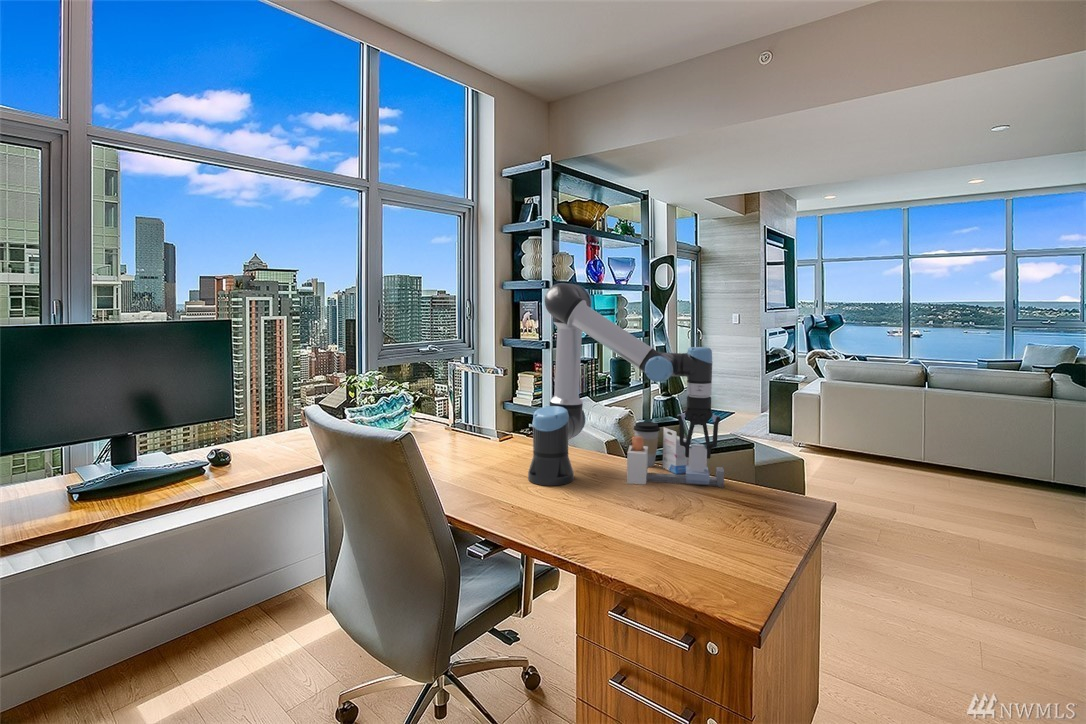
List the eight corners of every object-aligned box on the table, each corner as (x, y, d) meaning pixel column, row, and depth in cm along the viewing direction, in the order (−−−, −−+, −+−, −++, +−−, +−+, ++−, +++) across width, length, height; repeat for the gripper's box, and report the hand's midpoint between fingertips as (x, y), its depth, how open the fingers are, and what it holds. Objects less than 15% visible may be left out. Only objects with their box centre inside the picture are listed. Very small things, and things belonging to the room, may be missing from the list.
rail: (646, 482, 175) (646, 467, 175) (647, 477, 180) (647, 462, 180) (723, 487, 170) (724, 471, 169) (722, 482, 175) (722, 467, 174)
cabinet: (627, 483, 174) (627, 452, 174) (629, 474, 184) (629, 445, 183) (645, 484, 173) (646, 453, 172) (647, 475, 183) (647, 446, 182)
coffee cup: (658, 461, 200) (658, 421, 198) (661, 468, 190) (661, 426, 189) (632, 460, 201) (632, 421, 199) (633, 468, 191) (634, 426, 190)
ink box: (688, 473, 185) (688, 430, 184) (675, 474, 184) (676, 431, 182) (673, 466, 193) (674, 425, 192) (661, 467, 191) (662, 426, 190)
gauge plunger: (631, 450, 176) (631, 438, 176) (632, 447, 180) (632, 436, 179) (643, 451, 175) (643, 439, 175) (643, 448, 179) (643, 436, 179)
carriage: (686, 484, 171) (687, 448, 169) (685, 476, 179) (686, 441, 178) (709, 486, 169) (710, 449, 168) (707, 477, 178) (708, 442, 177)
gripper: (671, 396, 170) (670, 469, 172) (728, 398, 166) (726, 472, 168) (671, 393, 177) (670, 462, 179) (726, 394, 173) (724, 466, 175)
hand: (697, 467), depth 174 cm, fingers closed on carriage, 4 cm apart
